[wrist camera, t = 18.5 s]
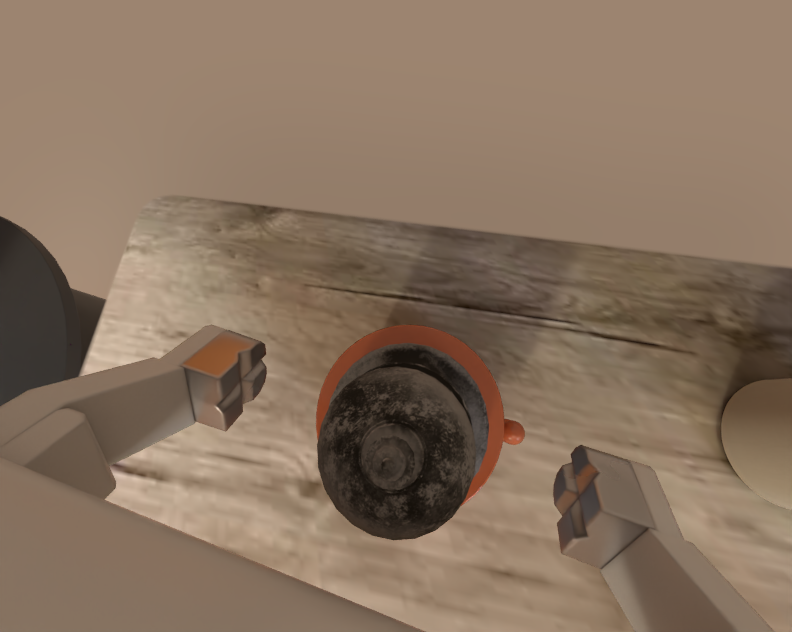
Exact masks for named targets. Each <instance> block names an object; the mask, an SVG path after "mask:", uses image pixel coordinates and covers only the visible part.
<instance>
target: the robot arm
mask: <svg viewBox="0 0 792 632" xmlns="http://www.w3.org/2000/svg"><path fill="white" fill-rule="evenodd" d="M265 355H266V348H265V344H264V343H262V342H261V341H258V340H255V339H252V338H249V337H247V336H244V335H241V334H238V333H235V332H232V331H230V330H225V329H223V328H220V327H217V326H214V325H208V326H205V327H204V328H202V329H201V330H199V331H198V332H197V333H195V334H194V335H192V336H191V337H190V338H188V339H187V340H185V341H184V342H183V343H181V344H180V345H179V346H177V347H176V348H174V349H173V350H172V351H170V352H169V353H167V354H166V355H165V356H163V357H162V358H160V359H157V358H150V359H146V360H143V361H139V362H135V363H131V364H127V365H123V366H119V367H116V368H112V369H108V370H104V371H100V372H96V373H93V374H89V375H85V376H81V377H77V378H73V379H69V380H66V381H62V382H58V383H54V384H50V385H46V386H43V387H39V388H35V389H31V390H28V391H26V392H24V393H23V394H21V395H19V396H18V397H16V398H14V399H12V400H11V401H9V402H7V403H6V404H4V405H2V406H1V407H0V632H425V631H423V630H420V629H418V628H415V627H413V626H410V625H408V624H406V623H403V622H401V621H398V620H396V619H393V618H391V617H389V616H386V615H384V614H381V613H379V612H376V611H374V610H372V609H369V608H367V607H364V606H362V605H359V604H357V603H355V602H352V601H350V600H347V599H345V598H342V597H340V596H337V595H335V594H333V593H330V592H328V591H325V590H323V589H320V588H318V587H316V586H313V585H311V584H308V583H306V582H303V581H301V580H299V579H296V578H294V577H291V576H289V575H286V574H284V573H282V572H279V571H277V570H274V569H272V568H269V567H267V566H264V565H262V564H260V563H257V562H255V561H252V560H250V559H247V558H245V557H243V556H240V555H238V554H235V553H233V552H230V551H228V550H226V549H223V548H221V547H218V546H216V545H213V544H211V543H208V542H206V541H204V540H201V539H199V538H196V537H194V536H191V535H189V534H187V533H184V532H182V531H179V530H177V529H174V528H172V527H169V526H167V525H165V524H162V523H160V522H157V521H155V520H152V519H150V518H148V517H145V516H143V515H140V514H138V513H135V512H133V511H130V510H128V509H126V508H123V507H121V506H118V505H116V504H113V503H111V502H109V501H106V500H104V499H105V498H106V497H107V496H108V495H109V494H110V493H111V492H112V491H113V490H114V489H115V487H116V481H115V478H114V476H113V474H112V472H111V470H110V467H109V466H110V465H112V464H114V463H116V462H118V461H120V460H122V459H125V458H127V457H129V456H131V455H133V454H135V453H137V452H139V451H141V450H143V449H145V448H147V447H149V446H151V445H153V444H155V443H157V442H159V441H161V440H163V439H165V438H167V437H169V436H171V435H173V434H175V433H177V432H179V431H181V430H183V429H185V428H187V427H189V426H191V425H193V424H195V421H196V422H199V423H202V424H205V425H208V426H211V427H214V428H217V429H220V430H223V431H227V430H228V429H229V427H230V426H231V425H232V424H233V423H234V422H235V421H236V419H237V418H238V417H239V416H240V415H241V414H242V412H243V404H244V403H247V402H249V401H252V400H254V398H255V397H256V396H257V395H258V394H259V392H260V391H261V389H262V387H263V385H264V383H265V379H266V374H267V373H266V366H265V364H264V363H263V361H262V360H261V359H262V358H263V357H264V356H265ZM571 458H572V463H569V464H566V465H563V466H562V467H561V469H560V470H559V472H558V473H557V475H556V479H555V482H554V492H553V495H554V504H555V506H556V507H557V509H558V510H559V512H560V513H561V515H562V518H561V519H560V520H559V522H558V523H557V526H558V533H559V541H560V548H561V554H564V555H566V556H569V557H571V558H574V559H576V560H579V561H581V562H584V563H587V564H589V565H592V566H594V567H597V568H599V569H601V570H600V572H601V574H602V575H603V577H604V579H605V581H606V582H607V584H608V586H609V587H610V589H611V591H612V593H613V594H614V596H615V598H616V600H617V601H618V603H619V605H620V606H621V608H622V610H623V612H624V613H625V615H626V617H627V618H628V620H629V622H630V624H631V625H632V627H633V629H634V631H635V632H775V631H774V630H773V629H772V628H771V627H770V626H769V625H768V624H767V623H766V622H765V621H764V620H763V619H762V618H761V616H760V615H759V614H758V613H757V612H756V611H755V610H754V609H753V608H752V607H751V606H750V605H749V604H748V602H747V601H746V600H745V599H744V598H743V597H742V596H741V595H740V594H739V593H738V592H737V591H736V590H735V588H734V587H733V586H732V585H731V584H730V583H729V582H728V581H727V580H726V579H725V578H724V577H723V576H722V574H721V573H720V572H719V571H718V570H717V569H716V568H715V567H714V566H713V565H712V564H711V563H710V562H709V561H708V559H707V558H706V557H705V556H704V555H703V554H702V553H701V552H700V551H699V550H698V549H697V548H696V547H695V545H694V544H693V543H691V542H688V541H685V540H684V538H683V536H682V534H681V531H680V529H679V527H678V524H677V522H676V520H675V517H674V515H673V513H672V510H671V508H670V506H669V503H668V501H667V499H666V496H665V494H664V492H663V489H662V487H661V485H660V482H659V480H658V478H657V475H656V473H655V471H654V470H653V469H652V468H651V467H650V466H647V465H644V464H640V463H637V462H634V461H631V460H628V459H623V458H621V457H618V456H614V455H611V454H608V453H605V452H602V451H599V450H595V449H592V448H589V447H586V446H583V445H580V446H578V447H576V448H575V449H574V451H573V452H572V453H571Z"/></svg>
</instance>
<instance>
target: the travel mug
mask: <svg viewBox="0 0 792 632" xmlns="http://www.w3.org/2000/svg"><path fill="white" fill-rule="evenodd" d="M721 436H722V442H723V446H724V450H725V453H726V455H727V458H728V460H729V462H730V464H731V465H732V467H733V469H734V470H735V472H736V473H737V475H738V476H739V477H740V478H741V480H742V481H743V482H744V483H745V484H746V485H747V486H748V487H749V488H750V489H751V490H753V491H754V492H755V493H756V494H758V495H759V496H761V497H762V498H764V499H765V500H767V501H769V502H771V503H773V504H775V505H777V506H780V507H783V508H786V509H789V510H792V378H786V379H769V380H760V381H756V382H753V383H750V384H748V385H746V386H744V387H743V388H741V389H740V390H738V391H737V392H736V393H735V394H734V395H733V396H732V398H731V399H730V400H729V402H728V404H727V405H726V407H725V410H724V413H723V417H722V422H721Z"/></svg>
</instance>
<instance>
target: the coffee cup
mask: <svg viewBox="0 0 792 632" xmlns="http://www.w3.org/2000/svg"><path fill="white" fill-rule="evenodd" d="M401 343H414V344H420V345H426V346H430V347H432V348H435V349H437V350H439V351H442V352H444V353H446V354H448V355H449V356H451V357H452V358H453V359H454V360H456V361H457V362H458V363H459V364H461V365H462V366H463V367H464V368H465V369H466V370H467V372H468V373H469V374H470V376H471V377H472V378H473V379H474V381H475V382H476V383H477V385H478V387H479V390H480V392H481V394H482V397H483V399H484V402H485V404H486V409H487V416H488V422H489V434H488V443H487V450H486V453H485V456H484V458H483V461H482V464H481V466H480V469H479V471H478V473H477V474H476V475H475V477H474V478H473V480H472V482H471V485H470V488H469V491H468V493H467V496H466V499H465V500H464V501H463V503H462V504H461V506H462V505H463V504H464V503H466V502H467V501H469V500H470V499H471V498H472V497H473V496H474V495H475V494H476V493H477V492H478V491H479V490H480V489H481V488H482V486H483V485H484V484H485V483H486V481H487V480H488V478H489V476H490V475H491V473H492V472H493V470H494V467H495V465H496V463H497V461H498V458H499V455H500V451H501V448H502V443H503V441H504V442H506V443H508V444H511V445H517V444H519V443H521V442H522V441H523V439H524V437H525V431H524V428H523V426H522V425H521V424H520V423H518V422H516V421H513V420H508V419H504V412H503V405H502V401H501V396H500V393H499V390H498V388H497V385H496V382H495V380H494V378H493V377H492V375H491V373H490V371H489V369H488V368H487V367H486V365H485V364H484V362H483V361H482V360H481V359H480V358H479V356H478V355H477V354H476V353H475V352H474V351H473V350H472V349H471V348H469V347H468V346H467V345H466V344H465V343H463V342H462V341H460V340H459V339H457V338H456V337H454V336H452V335H450V334H448V333H446V332H443V331H440V330H438V329H435V328H431V327H426V326H420V325H398V326H392V327H387V328H384V329H381V330H378V331H375V332H373V333H371V334H369V335H366V336H365V337H363V338H362V339H360V340H358V341H357V342H355V343H354V344H353V345H352V346H350V347H349V348H348V349H347V350H346V351H345V352H344V353H343V354H342V355H341V356H340V357H339V358H338V360H337V361H336V363H335V364H334V365H333V367H332V368H331V370H330V372H329V373H328V375H327V377H326V379H325V382H324V384H323V386H322V389H321V392H320V396H319V400H318V405H317V412H316V430H317V439H319V434H320V428H321V423H322V421H323V419H324V417H325V415H326V413H327V411H328V408H329V404H330V399H331V397H332V395H333V393H334V391H335V388H336V386H337V384H338V382H339V380H340V379H341V378H342V376H343V375H344V374H345V373H346V372H347V370H348V369H349V368H350V367H351V366H352V365H353V364H354V363H355V362H356V361H358V360H359V359H361V358H362V357H363V356H365V355H366V354H368V353H369V352H371V351H374V350H376V349H379V348H381V347H384V346H387V345H391V344H401Z"/></svg>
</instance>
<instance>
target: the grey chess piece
mask: <svg viewBox="0 0 792 632" xmlns="http://www.w3.org/2000/svg"><path fill="white" fill-rule="evenodd" d="M488 434H489V422H488V416H487V409H486V404H485V402H484V399H483V397H482V394H481V392H480V390H479V387H478V385H477V383H476V382H475V381H474V379H473V378H472V377H471V376H470V374H469V373H468V372H467V370H466V369H465V368H464V367H463V366H462V365H461V364H459V363H458V362H457V361H456V360H454V359H453V358H452V357H451V356H449V355H448V354H446V353H444V352H442V351H439V350H437V349H435V348H432V347H430V346H426V345H420V344H414V343H401V344H391V345H387V346H384V347H381V348H379V349H376V350H374V351H371V352H369V353H368V354H366V355H365V356H363V357H362V358H361V359H359V360H358V361H356V362H355V363H354V364H353V365H352V366H351V367H350V368H349V369H348V370H347V372H346V373H345V374H344V375H343V376H342V378H341V379H340V380H339V382H338V384H337V386H336V388H335V391H334V393H333V395H332V397H331V399H330V404H329V408H328V411H327V413H326V415H325V417H324V419H323V421H322V423H321V428H320V434H319V439H318V444H317V450H318V468H319V471H320V475H321V478H322V481H323V485H324V488H325V490H326V492H327V494H328V495H329V497H330V499H331V500H332V502H333V504H334V505H335V507H336V509H337V510H338V511H339V512H340V513H341V514H342V515H343V516H344V517H345V518H346V519H347V520H348V521H349V522H350V523H351V524H353V525H354V526H356V527H358V528H360V529H362V530H363V531H365V532H367V533H369V534H371V535H373V536H377V537H382V538H386V539H391V540H402V539H415V538H418V537H420V536H423V535H425V534H428V533H430V532H433V531H435V530H437V529H438V528H439V527H440V526H442V525H443V524H444V523H445V522H447V521H448V520H449V519H450V518H452V517H453V515H454V514H455V513H456V511H457V510H458V508H459V507H460V506H461V504H462V503H463V501H464V500H465V499H466V496H467V493H468V491H469V488H470V485H471V482H472V480H473V478H474V477H475V475H476V474H477V473H478V471H479V469H480V466H481V464H482V461H483V458H484V456H485V453H486V450H487V443H488Z"/></svg>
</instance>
